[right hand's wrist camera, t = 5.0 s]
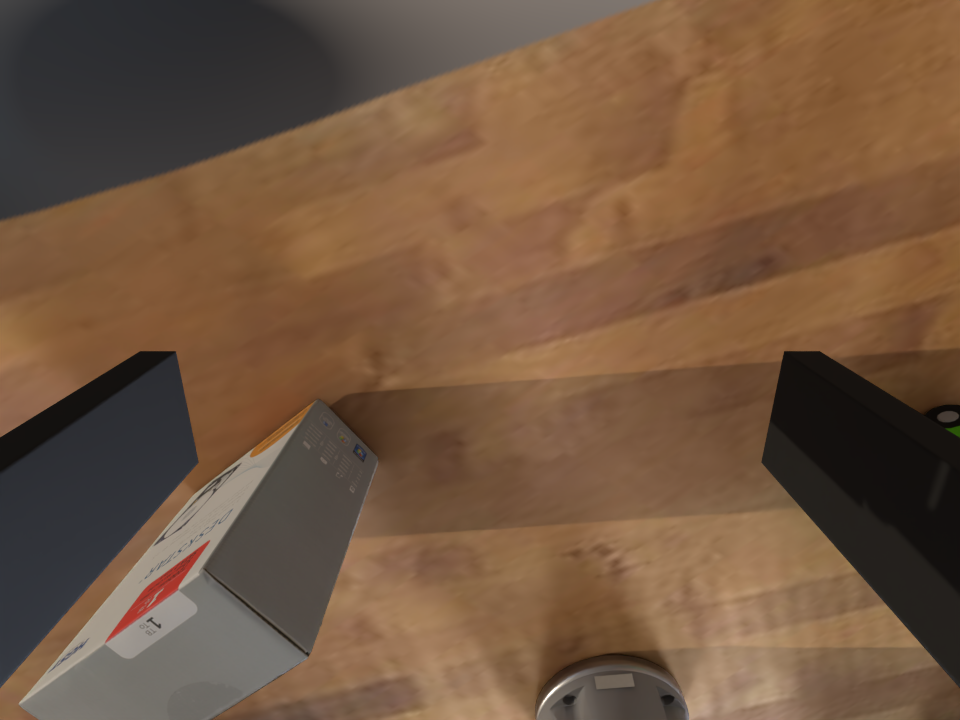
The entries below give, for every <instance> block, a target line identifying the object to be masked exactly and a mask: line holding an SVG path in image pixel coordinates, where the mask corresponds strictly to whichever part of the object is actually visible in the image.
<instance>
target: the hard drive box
mask: <svg viewBox="0 0 960 720" xmlns="http://www.w3.org/2000/svg"><path fill="white" fill-rule="evenodd" d="M378 462H379V461H378V457H377V456H376V455H375V454H374V453H373V452H372V451H371V450H370V449H369V448H368V447H367V446H366V445H365V444H364V443H363V442H362V441H361V440H360V439H359V438H358V437H357V436H356V435H355V434H354V433H353V432H352V431H351V430H350V429H349V428H348V427H347V426H346V425H345V424H344V423H343V422H342V421H341V420H340V419H339V417H338V416H337V415H336V414H335V413H334V412H333V411H332V410H331V409H330V408H329V407H328V406H327V405H326V404H325V403H324V402H323V401H321V400H320V399H317V400H315V401H314V402H313V403H311V404H310V405H309V406H307V407H306V408H305V409H303V410H302V411H301V412H300V413H298V414H297V415H296V416H294V417H293V418H292V419H290V420H289V421H288V422H286V423H285V424H284V425H283V426H281V427H280V428H279V429H277V430H276V431H275V432H274V433H272V434H271V435H270V436H269V437H267V438H266V439H265V440H263V441H262V442H261V443H260V444H258V445H257V446H256V447H254V448H253V449H252V450H250V451H249V452H248V453H246V454H245V455H244V456H243V457H241V458H240V459H239V460H237V461H236V462H235V463H234V464H232V465H231V466H230V467H228V468H227V469H225V470H224V471H223V472H222V473H221V474H219V475H218V476H217V477H215V478H214V479H213V480H211V481H210V482H209V483H208V484H207V485H205V486H204V487H203V488H202V489H200V490H199V491H198V492H196V493H195V494H194V495H193V496H192V497H191V498H190V499H189V501H188V502H187V503H186V504H185V506H184V507H183V508H182V509H181V510H180V511H179V513H178V514H177V515H176V516H175V517H174V519H173V520H172V521H171V522H170V523H169V525H168V526H167V527H166V528H165V529H164V531H163V532H162V533H161V534H160V536H159V537H158V538H157V539H156V540H155V542H154V543H153V544H152V545H151V546H150V548H149V549H148V550H147V551H146V553H145V554H144V555H143V556H142V557H141V559H140V560H139V561H138V562H137V563H136V565H135V566H134V567H133V568H132V569H131V571H130V572H129V573H128V574H127V575H126V577H125V578H124V579H123V580H122V581H121V583H120V584H119V585H118V586H117V588H116V589H115V590H114V591H113V592H112V594H111V595H110V596H109V597H108V598H107V599H106V601H105V602H104V603H103V604H102V605H101V607H100V608H99V609H98V610H97V611H96V613H95V614H94V615H93V616H92V617H91V619H90V620H89V621H88V622H87V623H86V625H85V626H84V627H83V628H82V630H81V631H80V632H79V633H78V634H77V636H76V637H75V638H74V639H73V640H72V642H71V643H70V644H69V645H68V646H67V648H66V649H65V650H64V651H63V652H62V654H61V655H60V656H59V657H58V658H57V660H56V661H55V662H54V663H53V664H52V665H51V667H50V668H49V669H48V670H47V671H46V672H45V674H44V675H43V676H42V677H41V678H40V679H39V681H38V682H37V683H36V684H35V685H34V687H33V688H32V689H31V690H30V691H29V693H28V694H27V695H26V696H25V697H24V698H23V699H22V700H21V701H20V703H19V706H20V707H22V708H23V709H24V710H26V711H27V712H28V713H30V714H31V715H33V716H34V717H36V718H37V719H39V720H212V719H213V718H215V717H216V716H218V715H220V714H221V713H223V712H224V711H226V710H228V709H229V708H231V707H232V706H234V705H236V704H237V703H239V702H240V701H242V700H244V699H245V698H247V697H248V696H250V695H251V694H253V693H255V692H256V691H258V690H260V689H261V688H263V687H264V686H266V685H268V684H269V683H271V682H272V681H274V680H276V679H277V678H279V677H280V676H282V675H283V674H285V673H286V672H288V671H289V670H291V669H292V668H294V667H295V666H297V665H298V664H300V663H301V662H303V661H304V660H306V659H307V658H308V657H309V655H310V653H311V651H312V648H313V645H314V643H315V640H316V637H317V635H318V632H319V629H320V626H321V624H322V620H323V617H324V614H325V611H326V608H327V606H328V603H329V600H330V597H331V594H332V591H333V589H334V586H335V583H336V580H337V577H338V574H339V572H340V569H341V566H342V563H343V561H344V558H345V555H346V552H347V549H348V547H349V544H350V541H351V538H352V536H353V533H354V530H355V527H356V524H357V521H358V519H359V516H360V513H361V510H362V508H363V505H364V502H365V499H366V496H367V494H368V491H369V488H370V485H371V482H372V480H373V477H374V474H375V471H376V468H377V466H378Z"/></svg>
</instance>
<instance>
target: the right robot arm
mask: <svg viewBox="0 0 960 720" xmlns="http://www.w3.org/2000/svg"><path fill="white" fill-rule="evenodd" d="M197 464H198V457H197V452H196V447H195V442H194V438H193V433H192V428H191V423H190V418H189V413H188V408H187V404H186V399H185V394H184V389H183V384H182V379H181V374H180V369H179V365H178V360H177V355H176V351H140V352H138V353H137V354H135V355H134V356H132V357H130V358H129V359H127V360H125V361H124V362H122V363H121V364H119V365H117V366H116V367H114V368H112V369H111V370H109V371H108V372H106V373H104V374H103V375H101V376H99V377H98V378H96V379H95V380H93V381H91V382H90V383H88V384H86V385H85V386H83V387H82V388H80V389H78V390H77V391H75V392H73V393H72V394H70V395H69V396H67V397H65V398H64V399H62V400H60V401H59V402H57V403H56V404H54V405H52V406H51V407H49V408H47V409H46V410H44V411H43V412H41V413H39V414H38V415H36V416H34V417H33V418H31V419H30V420H28V421H26V422H25V423H23V424H21V425H20V426H18V427H16V428H15V429H13V430H12V431H10V432H8V433H7V434H5V435H3V436H2V437H0V688H1V686H2V685H3V684H4V683H5V682H6V681H7V680H8V678H9V677H10V676H11V675H12V674H13V673H14V672H15V671H16V669H17V668H18V667H19V666H20V665H21V664H22V663H23V661H24V660H25V659H26V658H27V657H28V656H29V655H30V653H31V652H32V651H33V650H34V649H35V648H36V647H37V646H38V644H39V643H40V642H41V641H42V640H43V639H44V638H45V636H46V635H47V634H48V633H49V632H50V631H51V630H52V628H53V627H54V626H55V625H56V624H57V623H58V622H59V620H60V619H61V618H62V617H63V616H64V615H65V614H66V613H67V611H68V610H69V609H70V608H71V607H72V606H73V605H74V603H75V602H76V601H77V600H78V599H79V598H80V597H81V595H82V594H83V593H84V592H85V591H86V590H87V589H88V588H89V586H90V585H91V584H92V583H93V582H94V581H95V580H96V578H97V577H98V576H99V575H100V574H101V573H102V572H103V570H104V569H105V568H106V567H107V566H108V565H109V564H110V563H111V561H112V560H113V559H114V558H115V557H116V556H117V555H118V553H119V552H120V551H121V550H122V549H123V548H124V547H125V545H126V544H127V543H128V542H129V541H130V540H131V539H132V538H133V536H134V535H135V534H136V533H137V532H138V531H139V530H140V528H141V527H142V526H143V525H144V524H145V523H146V522H147V520H148V519H149V518H150V517H151V516H152V515H153V514H154V512H155V511H156V510H157V509H158V508H159V507H160V506H161V505H162V503H163V502H164V501H165V500H166V499H167V498H168V497H169V495H170V494H171V493H172V492H173V491H174V490H175V489H176V487H177V486H178V485H179V484H180V483H181V482H182V481H183V480H184V478H185V477H186V476H187V475H188V474H189V473H190V472H191V470H192V469H193V468H194V467H195V466H196V465H197ZM762 464H763V465H764V466H765V467H766V468H767V469H768V470H769V472H770V473H771V474H772V475H773V476H774V477H775V478H776V480H777V481H778V482H779V483H780V484H781V485H782V486H783V487H784V489H785V490H786V491H787V492H788V493H789V494H790V495H791V497H792V498H793V499H794V500H795V501H796V502H797V503H798V505H799V506H800V507H801V508H802V509H803V510H804V511H805V512H806V514H807V515H808V516H809V517H810V518H811V519H812V520H813V522H814V523H815V524H816V525H817V526H818V527H819V528H820V530H821V531H822V532H823V533H824V534H825V535H826V536H827V538H828V539H829V540H830V541H831V542H832V543H833V544H834V545H835V547H836V548H837V549H838V550H839V551H840V552H841V553H842V555H843V556H844V557H845V558H846V559H847V560H848V561H849V563H850V564H851V565H852V566H853V567H854V568H855V569H856V570H857V572H858V573H859V574H860V575H861V576H862V577H863V578H864V580H865V581H866V582H867V583H868V584H869V585H870V586H871V588H872V589H873V590H874V591H875V592H876V593H877V594H878V595H879V597H880V598H881V599H882V600H883V601H884V602H885V603H886V605H887V606H888V607H889V608H890V609H891V610H892V611H893V613H894V614H895V615H896V616H897V617H898V618H899V619H900V620H901V622H902V623H903V624H904V625H905V626H906V627H907V628H908V630H909V631H910V632H911V633H912V634H913V635H914V636H915V638H916V639H917V640H918V641H919V642H920V643H921V644H922V646H923V647H924V648H925V649H926V650H927V651H928V652H929V653H930V655H931V656H932V657H933V658H934V659H935V660H936V661H937V663H938V664H939V665H940V666H941V667H942V668H943V669H944V671H945V672H946V673H947V674H948V675H949V676H950V677H951V678H952V680H953V681H954V682H955V683H956V684H957V685H958V686H959V688H960V437H958V436H957V435H955V434H953V433H952V432H950V431H948V430H947V429H945V428H944V427H942V426H940V425H939V424H937V423H935V422H934V421H932V420H930V419H929V418H927V417H926V416H924V415H922V414H921V413H919V412H917V411H916V410H914V409H913V408H911V407H909V406H908V405H906V404H904V403H903V402H901V401H900V400H898V399H896V398H895V397H893V396H891V395H890V394H888V393H887V392H885V391H883V390H882V389H880V388H878V387H877V386H875V385H874V384H872V383H870V382H869V381H867V380H865V379H864V378H862V377H861V376H859V375H857V374H856V373H854V372H852V371H851V370H849V369H848V368H846V367H844V366H843V365H841V364H839V363H838V362H836V361H835V360H833V359H831V358H830V357H828V356H826V355H825V354H823V353H822V352H820V351H784V355H783V360H782V365H781V369H780V374H779V379H778V384H777V389H776V394H775V399H774V404H773V408H772V413H771V418H770V423H769V428H768V433H767V438H766V442H765V447H764V452H763V457H762ZM535 719H536V720H689V713H688V709H687V705H686V703H685V700H684V697H683V694H682V692H681V689H680V687H679V685H678V683H677V682H676V680H675V679H674V678H673V677H672V676H671V675H670V674H669V673H668V672H667V671H666V670H664V669H663V668H661V667H660V666H658V665H656V664H654V663H652V662H650V661H647V660H644V659H641V658H637V657H632V656H624V655H607V656H599V657H593V658H589V659H585V660H582V661H579V662H577V663H574V664H572V665H570V666H568V667H566V668H565V669H563V670H561V671H560V672H558V673H557V674H556V675H555V676H553V677H552V678H551V679H550V680H549V681H548V682H547V683H546V685H545V686H544V687H543V689H542V690H541V692H540V694H539V696H538V699H537V702H536V707H535Z"/></svg>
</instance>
